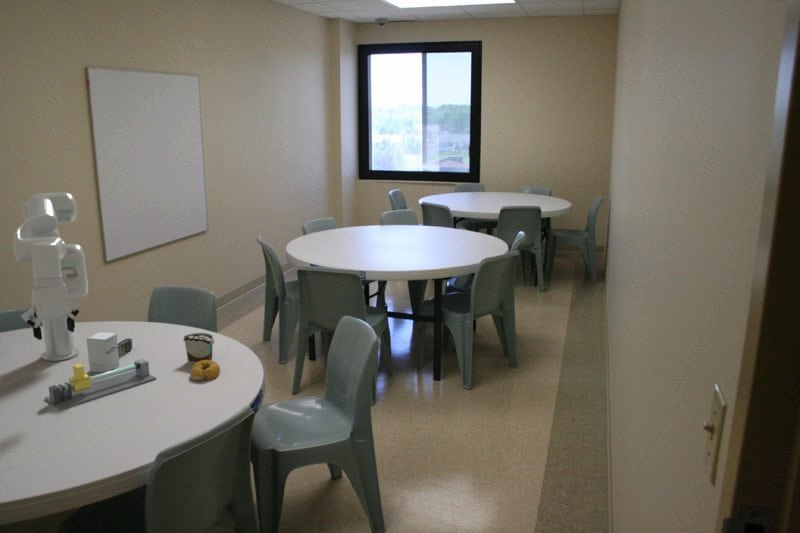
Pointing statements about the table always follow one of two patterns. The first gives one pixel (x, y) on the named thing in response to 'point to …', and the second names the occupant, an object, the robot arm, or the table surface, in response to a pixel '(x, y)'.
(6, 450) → the table surface
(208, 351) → the food container
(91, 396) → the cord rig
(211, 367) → the bagel
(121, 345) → the mobile phone
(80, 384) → the sleeve
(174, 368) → the table surface
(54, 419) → the table surface
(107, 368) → the supplement box
